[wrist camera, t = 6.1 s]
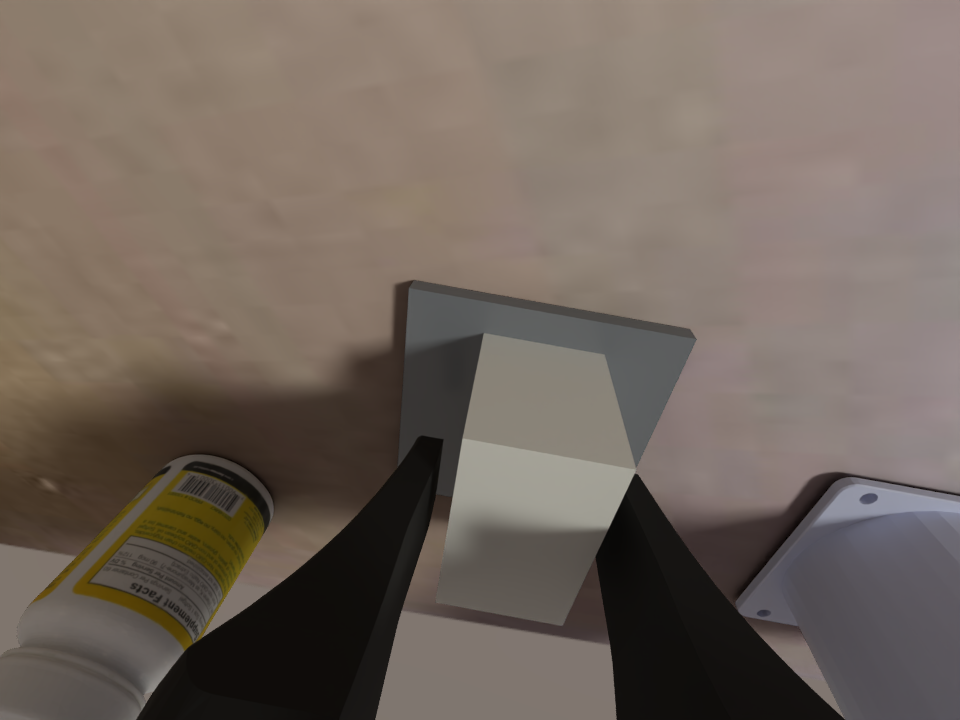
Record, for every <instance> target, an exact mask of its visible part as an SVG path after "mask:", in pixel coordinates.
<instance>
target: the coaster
mask: <svg viewBox="0 0 960 720" xmlns="http://www.w3.org/2000/svg"><path fill="white" fill-rule="evenodd" d="M484 333H487V334H492V335H498V336H503V337H509V338H515V339H520V340H526V341H531V342H537V343H543V344H548V345H554V346H559V347H565V348H570V349H576V350H582V351H587V352H593V353H598V354H604V355H605V358H606V361H607V365H608V369H609V372H610V376H611V380H612V383H613V387H614V390H615V394H616V398H617V401H618V405H619V409H620V412H621V416H622V419H623V423H624V427H625V430H626V434H627V438H628V441H629V445H630V449H631V452H632V456H633V459H634V463H635V467H637V465H638V463H639V461H640V459H641V457H642V454H643V452H644V450H645V448H646V446H647V444H648V442H649V439H650V437H651V435H652V433H653V431H654V429H655V427H656V425H657V422H658V420H659V418H660V416H661V414H662V412H663V410H664V408H665V405H666V403H667V401H668V399H669V397H670V395H671V393H672V391H673V388H674V386H675V384H676V382H677V380H678V378H679V376H680V374H681V371H682V369H683V367H684V365H685V363H686V361H687V359H688V357H689V354H690V352H691V350H692V348H693V346H694V344H695V342H696V340H697V339H696V338H695V336H694V335H693V333H692V332H691V330H690V329H686V328H680V327H675V326H669V325H664V324H658V323H652V322H647V321H641V320H635V319H630V318H624V317H618V316H613V315H607V314H602V313H596V312H590V311H585V310H579V309H573V308H568V307H562V306H557V305H551V304H545V303H540V302H534V301H528V300H523V299H517V298H512V297H506V296H500V295H495V294H489V293H483V292H478V291H472V290H467V289H461V288H455V287H450V286H444V285H438V284H433V283H427V282H421V281H416V280H414V281H413V282H412V284H411V286H410V287H409V295H408V311H407V327H406V342H405V358H404V374H403V389H402V405H401V421H400V437H399V452H398V466H399V465H400V464H401V462H402V461H403V460H404V458H405V457H406V455H407V454H408V452H409V451H410V449H411V448H412V446H413V444H414V443H415V441H416V439H417V438H418V437H419V436H421V435H423V436H429V437H434V438H440V439H444V441H443V448H442V455H441V463H440V470H439V477H438V485H437V492H436V494H437V495H443V496H448V497H453V493H454V487H455V481H456V475H457V469H458V463H459V457H460V451H461V445H462V439H463V434H464V429H465V424H466V419H467V414H468V409H469V404H470V399H471V394H472V389H473V384H474V380H475V375H476V370H477V365H478V360H479V355H480V350H481V345H482V340H483V335H484Z"/></svg>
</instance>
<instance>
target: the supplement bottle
mask: <svg viewBox="0 0 960 720" xmlns="http://www.w3.org/2000/svg"><path fill="white" fill-rule="evenodd" d="M273 512H274V505H273V501H272V498H271V496H270V494H269V492H268V491H267V489H266V488H265V487H264V485H263V484H262V483H261V482H260V481H259V480H258V479H257V478H256V477H255V476H254V475H253V474H252V473H250V472H249V471H248V470H246V469H245V468H243V467H241V466H240V465H238V464H236V463H234V462H231V461H229V460H226V459H223V458H220V457H216V456H211V455H188V456H183V457H180V458H177V459H175V460H173V461H171V462H170V463H168V464H167V465H166V466H164V467H163V468H162V469H161V470H160V471H159V472H158V473H157V474H156V475H155V476H154V477H153V479H152V480H151V481H150V482H149V483H148V484H147V485H146V486H145V487H144V488H143V489H142V490H141V491H140V492H139V493H138V494H137V495H136V496H135V497H134V498H133V499H132V500H131V501H130V502H129V504H128V505H127V506H126V507H125V508H124V509H123V510H122V511H121V512H120V513H119V514H118V515H117V516H116V517H115V518H114V519H113V520H112V521H111V522H110V523H109V524H108V525H107V526H106V527H105V528H104V529H103V530H102V531H101V532H100V533H99V534H98V535H97V536H96V538H95V539H94V540H93V541H92V542H91V543H90V544H89V545H88V546H87V547H86V548H85V549H84V550H83V551H82V552H81V553H80V554H79V555H78V556H77V557H76V558H75V559H74V560H73V561H72V562H71V563H70V564H69V565H68V566H67V567H66V568H65V569H64V570H63V571H62V572H61V573H60V574H59V575H58V577H56V578H55V579H54V580H53V582H51V584H49V586H48V587H47V588H46V589H45V590H44V591H43V592H42V593H40V595H38V596H37V598H36V599H34V601H33V602H32V603H31V604H30V605H29V606H28V607H27V609H26V610H25V612H24V614H23V615H22V617H21V619H20V621H19V624H18V627H17V638H18V642H19V644H20V647H19V648H14V649H10V650H7V651H6V652H4V653H3V654H2V655H1V656H0V720H136V719H137V717H138V716H139V714H140V712H141V711H142V709H143V708H144V706H145V704H146V701H145V698H144V696H143V695H144V694H145V693H150V692H153V691H154V690H155V689H156V687H157V686H158V684H159V683H160V682H161V681H162V679H163V678H164V677H165V676H166V674H167V673H168V672H169V670H170V669H171V667H172V666H173V665H174V664H175V662H176V661H177V660H178V659H179V657H180V656H181V655H182V654H183V653H184V651H185V650H186V649H187V648H188V647H189V646H190V645H192V644H193V643H195V642H196V641H198V640H200V639H201V638H202V636H203V634H204V632H205V631H206V629H207V627H208V626H209V624H210V622H211V621H212V619H213V617H214V616H215V614H216V612H217V611H218V609H219V607H220V606H221V604H222V602H223V601H224V599H225V597H226V596H227V594H228V592H229V591H230V589H231V587H232V586H233V584H234V582H235V581H236V579H237V577H238V576H239V574H240V572H241V571H242V569H243V567H244V566H245V564H246V562H247V561H248V559H249V557H250V556H251V554H252V552H253V551H254V549H255V547H256V546H257V544H258V542H259V541H260V539H261V537H262V535H263V534H264V532H265V531H266V529H267V527H268V525H269V524H270V522H271V519H272V517H273Z"/></svg>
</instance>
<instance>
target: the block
mask: <svg viewBox="0 0 960 720" xmlns="http://www.w3.org/2000/svg"><path fill="white" fill-rule="evenodd" d="M635 472H636V467H635V463H634V459H633V456H632V452H631V449H630V445H629V441H628V438H627V434H626V430H625V427H624V423H623V419H622V416H621V412H620V409H619V405H618V401H617V398H616V394H615V390H614V387H613V383H612V380H611V376H610V372H609V369H608V365H607V361H606V358H605V355H604V354H598V353H593V352H587V351H582V350H576V349H570V348H565V347H559V346H554V345H548V344H543V343H537V342H531V341H526V340H520V339H515V338H509V337H503V336H498V335H492V334H487V333H484V335H483V340H482V345H481V350H480V355H479V360H478V365H477V370H476V375H475V380H474V384H473V389H472V394H471V399H470V404H469V409H468V414H467V419H466V424H465V429H464V434H463V439H462V445H461V451H460V457H459V463H458V469H457V475H456V481H455V487H454V493H453V499H452V505H451V511H450V517H449V523H448V529H447V535H446V541H445V547H444V553H443V559H442V565H441V571H440V577H439V583H438V589H437V595H436V601H435V603H440V604H446V605H451V606H456V607H462V608H467V609H473V610H478V611H483V612H489V613H494V614H500V615H505V616H510V617H516V618H521V619H526V620H532V621H537V622H543V623H548V624H553V625H559V626H563V624H564V622H565V620H566V618H567V615H568V613H569V611H570V609H571V607H572V605H573V603H574V601H575V599H576V596H577V594H578V592H579V590H580V588H581V586H582V584H583V582H584V580H585V577H586V575H587V573H588V571H589V569H590V567H591V565H592V563H593V560H594V558H595V556H596V554H597V552H598V550H599V548H600V546H601V544H602V541H603V539H604V537H605V535H606V533H607V531H608V529H609V527H610V525H611V522H612V520H613V518H614V516H615V514H616V512H617V510H618V508H619V506H620V503H621V501H622V499H623V497H624V495H625V493H626V491H627V489H628V486H629V484H630V482H631V480H632V478H633V476H634V474H635Z"/></svg>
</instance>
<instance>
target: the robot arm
mask: <svg viewBox="0 0 960 720" xmlns="http://www.w3.org/2000/svg"><path fill="white" fill-rule="evenodd" d="M443 441H444V439H440V438H434V437H429V436H423V435H421V436H419V437H418V438H417V439H416V441H415V443H414V444H413V446H412V448H411V449H410V451H409V452H408V454H407V455H406V457H405V458H404V460H403V461H402V462H401V464H400V465H399V466H398V468H397V469H396V470H395V472H394V473H393V474H392V475H391V477H390V478H389V479H388V480H387V482H386V483H385V484H384V485H383V487H382V488H381V489H380V490H379V491H378V493H377V494H376V495H375V496H374V497H373V498H372V499H371V500H370V501H369V503H368V504H367V505H366V506H365V507H364V508H363V509H362V510H361V511H360V512H359V513H358V515H357V516H356V517H355V518H354V519H353V520H352V521H351V522H350V523H349V524H348V525H347V526H346V527H345V528H344V529H343V530H342V531H341V532H340V533H339V534H338V535H336V536H335V537H334V538H333V539H332V540H331V541H330V542H329V543H328V544H327V545H326V546H325V547H323V548H322V549H321V550H320V551H319V552H318V553H317V554H315V555H314V556H313V557H312V558H311V559H310V560H308V561H307V562H306V563H305V564H304V565H303V566H301V567H300V568H299V569H298V570H296V571H295V572H294V573H293V574H292V575H290V576H289V577H288V578H287V579H285V580H284V581H282V582H281V583H280V584H278V585H277V586H276V587H274V588H273V589H272V590H270V591H269V592H268V593H267V594H265V595H264V596H262V597H261V598H260V599H258V600H257V601H256V602H254V603H253V604H252V605H251V606H249V607H248V608H246V609H245V610H243V611H242V612H240V613H239V614H237V615H236V616H234V617H233V618H232V619H230V620H228V621H227V622H225V623H224V624H222V625H221V626H219V627H218V628H216V629H215V630H213V631H212V632H210V633H209V634H207V635H206V636H204V637H203V638H201V639H200V640H198V641H196V642H195V643H193V644H192V645H190V646H189V647H188V648H187V649H186V650H185V651H184V653H183V654H182V655H181V656H180V657H179V659H178V660H177V661H176V662H175V664H174V665H173V666H172V667H171V669H170V670H169V672H168V673H167V674H166V676H165V677H164V678H163V679H162V681H161V682H160V683H159V684H158V686H157V687H156V689H155V690H154V692H153V693H152V695H151V697H150V698H149V700H148V701H147V703H146V704H145V706H144V708H143V709H142V711H141V712H140V714H139V716H138V717H137V719H136V720H375V718H376V714H377V709H378V705H379V700H380V697H381V692H382V688H383V684H384V679H385V675H386V671H387V667H388V662H389V658H390V654H391V650H392V646H393V641H394V637H395V633H396V629H397V624H398V621H399V617H400V614H401V611H402V607H403V604H404V601H405V598H406V595H407V592H408V589H409V585H410V582H411V579H412V576H413V573H414V570H415V567H416V564H417V561H418V558H419V555H420V552H421V549H422V546H423V543H424V540H425V537H426V533H427V530H428V527H429V523H430V519H431V514H432V510H433V505H434V501H435V496H436V492H437V485H438V477H439V470H440V463H441V455H442V448H443ZM596 562H597V568H598V575H599V581H600V587H601V593H602V599H603V605H604V611H605V617H606V622H607V628H608V634H609V640H610V647H611V655H612V661H613V674H614V687H615V701H616V716H617V720H960V496H956V495H950V494H944V493H939V492H933V491H928V490H922V489H917V488H911V487H906V486H900V485H895V484H889V483H883V482H878V481H872V480H867V479H861V478H856V477H846V478H842V479H840V480H837V481H836V482H835V483H833V484H832V485H831V487H830V488H829V489H828V490H827V491H826V493H825V494H824V495H823V496H822V498H821V499H820V500H819V501H818V502H817V504H816V505H815V506H814V507H813V508H812V510H811V511H810V512H809V513H808V514H807V516H806V517H805V518H804V519H803V520H802V522H801V523H800V524H799V525H798V527H797V528H796V529H795V530H794V531H793V533H792V534H791V535H790V536H789V537H788V539H787V540H786V541H785V542H784V543H783V545H782V546H781V547H780V548H779V549H778V551H777V552H776V553H775V554H774V555H773V557H772V558H771V559H770V560H769V562H768V563H767V564H766V565H765V566H764V568H763V569H762V570H761V571H760V572H759V574H758V575H757V576H756V577H755V578H754V580H753V581H752V582H751V583H750V584H749V586H748V587H747V588H746V589H745V591H744V592H743V593H742V594H741V595H740V597H739V598H738V599H737V600H736V602H735V604H736V607H737V609H738V611H737V610H736V609H735V608H734V607H733V605H732V604H731V603H730V602H729V601H728V600H727V598H726V597H725V596H724V595H723V594H722V592H721V591H720V590H719V589H718V588H717V586H716V585H715V584H714V582H713V581H712V580H711V579H710V577H709V576H708V575H707V573H706V572H705V571H704V570H703V568H702V567H701V566H700V564H699V563H698V562H697V560H696V559H695V558H694V556H693V555H692V554H691V552H690V551H689V550H688V548H687V547H686V545H685V544H684V542H683V541H682V540H681V538H680V537H679V535H678V534H677V532H676V531H675V530H674V528H673V527H672V525H671V524H670V522H669V521H668V519H667V518H666V516H665V515H664V513H663V512H662V510H661V509H660V507H659V506H658V504H657V503H656V501H655V500H654V498H653V497H652V495H651V494H650V492H649V490H648V489H647V487H646V486H645V484H644V483H643V481H642V480H641V478H640V477H639V475H638V474H634V476H633V478H632V480H631V482H630V484H629V486H628V489H627V491H626V493H625V495H624V497H623V499H622V501H621V503H620V506H619V508H618V510H617V512H616V514H615V516H614V518H613V520H612V522H611V525H610V527H609V529H608V531H607V533H606V535H605V537H604V539H603V541H602V544H601V546H600V548H599V550H598V552H597V554H596ZM740 614H741V615H743V616H746V617H750V618H756V619H761V620H767V621H772V622H777V623H783V624H788V625H794V626H799V628H800V630H801V632H802V634H803V636H804V638H805V640H806V642H807V644H808V646H809V648H810V650H811V652H812V654H813V656H814V658H815V660H816V662H817V664H818V666H819V668H820V670H821V672H822V674H823V676H824V678H825V680H826V682H827V684H828V686H829V688H830V690H831V692H832V694H833V696H834V698H835V700H836V702H837V704H838V706H839V708H840V710H841V712H842V714H843V716H844V718H845V719H844V718H843V717H842V716H841V715H839V714H838V713H837V712H836V711H835V710H834V709H833V708H832V707H831V706H830V705H829V704H827V703H826V702H825V701H824V700H823V699H822V698H821V697H820V696H819V695H818V694H817V693H815V692H814V690H812V689H811V688H810V687H809V686H808V685H807V684H806V683H805V682H804V681H803V680H802V679H801V678H800V677H799V676H798V675H797V674H796V673H795V672H794V671H793V670H792V669H791V668H790V667H789V666H788V665H787V664H786V663H785V662H784V661H783V660H782V659H781V658H780V657H779V656H778V655H777V654H776V653H775V652H774V651H773V650H772V649H771V647H770V646H769V645H768V644H767V643H766V642H765V641H764V640H763V639H762V638H761V637H760V636H759V635H758V634H757V633H756V632H755V630H754V629H753V628H752V627H751V626H750V625H749V624H748V623H747V621H746V620H745V619H744V618H743V617H742V616H741V615H740Z"/></svg>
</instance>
